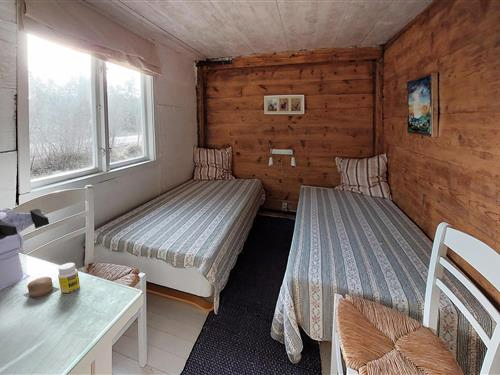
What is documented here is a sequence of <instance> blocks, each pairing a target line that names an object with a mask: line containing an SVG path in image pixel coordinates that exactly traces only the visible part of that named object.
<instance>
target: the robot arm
mask: <svg viewBox="0 0 500 375" xmlns="http://www.w3.org/2000/svg"><path fill="white" fill-rule="evenodd" d="M32 225H33V226H34V229H38V228H42V227H44V226H48V225H50V220H49V218H48V217H47V216H46V215H45V212H42V211H41V209H39V208H34V209H31V210H29V213H27V212H17V211H16V209H14V208H13V209H9V210H6V211H3V210H2V209H0V290H3V289H4V288H8V287H9V286H12V285H14V284H16V283H18V282H21V281H22V280H26V279H27V278H29V277H31V275H30V274H27V273H24V271H23V266H22V262H21V258H20V252H22V250H21V249H22V248H23V247H24V244H25V240H24V236H23V234H21V232H23V231H25V230H26V229H27V228H29V227H31V226H32Z"/></svg>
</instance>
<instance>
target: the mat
mask: <svg viewBox="0 0 500 375" xmlns="http://www.w3.org/2000/svg"><path fill="white" fill-rule="evenodd" d="M57 291H60V287H59V288H58V287H55V286H53V291H52V292H50V293H49V294H47V295H45V296H42V297H38V298H31V297H30V296H29V291H28V292H27V293H24V294H23V296H24V297H26V298H29V299H32V300H34V301H36V302H39V301H41V300H42V299H44V298H47V297H49V296H50V295H52V294H55V292H57Z"/></svg>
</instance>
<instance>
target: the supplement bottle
mask: <svg viewBox="0 0 500 375" xmlns="http://www.w3.org/2000/svg"><path fill="white" fill-rule="evenodd" d="M57 277H58V282H59V283H58V284H59V290H60V293H61V295H63V296H68V295H72V294H75V293H76V292H79V291H80V289H81V284H80V279H79V278H80V277H79V272H78V269H77V267H76V263H74V262H66V263H64V264H61V265H59V266H58V275H57Z"/></svg>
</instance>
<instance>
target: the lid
mask: <svg viewBox="0 0 500 375" xmlns="http://www.w3.org/2000/svg"><path fill="white" fill-rule="evenodd" d="M26 286H27V291H28V292H29V296H30V297H31V298H38V297H42V296H45V295H47V294H49V293H50V292H52V291H53V287H54V284H53V280H52V277H50V276H44V277H43V276H42V277H38V278H36V279H34V280H32V281H29V283H27V285H26ZM31 298H30V299H31Z"/></svg>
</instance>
